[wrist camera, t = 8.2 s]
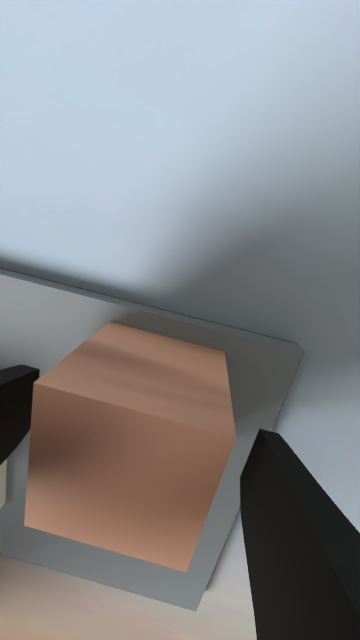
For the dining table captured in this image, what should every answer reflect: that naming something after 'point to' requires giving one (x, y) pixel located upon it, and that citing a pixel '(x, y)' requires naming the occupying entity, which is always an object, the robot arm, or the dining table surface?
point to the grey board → (97, 310)
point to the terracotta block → (130, 444)
